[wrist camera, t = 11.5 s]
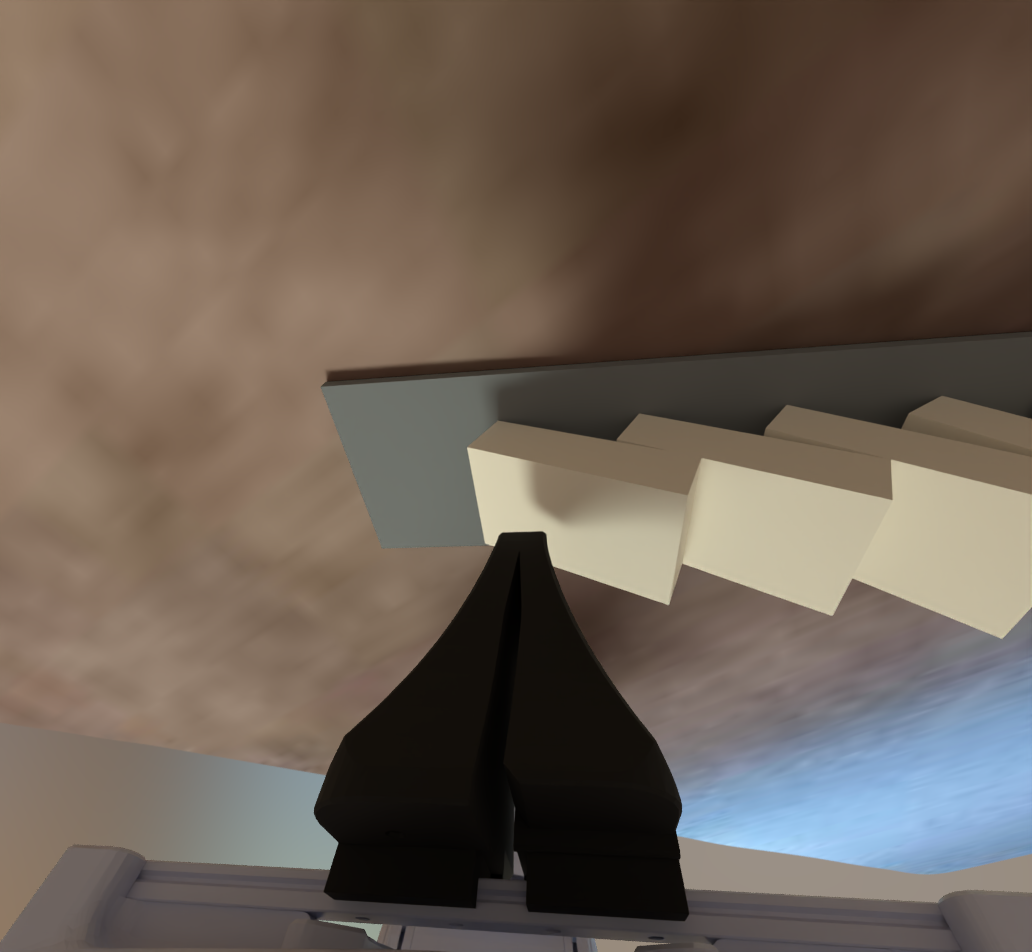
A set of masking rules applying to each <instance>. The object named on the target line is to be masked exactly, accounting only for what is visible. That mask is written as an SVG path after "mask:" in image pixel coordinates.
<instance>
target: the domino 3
mask: <svg viewBox="0 0 1032 952" xmlns="http://www.w3.org/2000/svg"><path fill="white" fill-rule="evenodd" d="M764 436H766V437H771V438H777V439H782V440H788V441H793V442H799V443H804V444H809V445H815V446H820V447H826V448H831V449H837V450H842V451H848V452H853V453H859V454H864V455H870V456H875V457H881V458H886V459H891V472H892V493H893V501H892V503H891V505H890V507H889V509H888V510H887V512H886V514H885V516H884V518H883V520H882V522H881V524H880V526H879V528H878V530H877V532H876V533H875V535H874V537H873V539H872V541H871V543H870V545H869V547H868V549H867V551H866V553H865V555H864V556H863V558H862V560H861V562H860V564H859V566H858V568H857V570H856V572H855V574H854V576H853V579H856V580H858V581H861V582H863V583H866V584H868V585H870V586H873V587H875V588H878V589H880V590H883V591H885V592H888V593H890V594H893V595H895V596H898V597H900V598H903V599H905V600H908V601H910V602H912V603H915V604H917V605H920V606H922V607H925V608H927V609H930V610H932V611H935V612H937V613H940V614H942V615H945V616H947V617H950V618H952V619H954V620H957V621H959V622H962V623H964V624H967V625H969V626H972V627H974V628H977V629H979V630H982V631H984V632H987V633H989V634H992V635H994V636H996V637H999V638H1001V639H1003V637H1004V636H1005V635H1006V634H1007V633H1008V632H1009V631H1010V630H1011V629H1012V628H1013V627H1014V626H1015V625H1016V623H1017V622H1018V621H1019V620H1020V619H1021V618H1022V617H1023V616H1024V615H1025V614H1026V613H1027V612H1028V611H1029V609H1030V608H1031V607H1032V457H1030V456H1025V455H1021V454H1016V453H1011V452H1007V451H1002V450H997V449H992V448H988V447H983V446H978V445H974V444H969V443H964V442H960V441H955V440H950V439H945V438H941V437H936V436H931V435H927V434H922V433H917V432H913V431H908V430H903V429H899V428H894V427H889V426H884V425H880V424H875V423H870V422H866V421H861V420H856V419H852V418H847V417H842V416H838V415H833V414H828V413H823V412H819V411H814V410H809V409H805V408H800V407H795V406H791V405H786V406H785V407H784V408H783V410H782V411H781V412H780V413H779V414H778V415H777V416H776V417H775V418H774V419H773V421H772V422H771V423H770V424H769V425H768V426H767V427H766V429H765V432H764Z"/></svg>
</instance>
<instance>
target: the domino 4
mask: <svg viewBox="0 0 1032 952" xmlns="http://www.w3.org/2000/svg"><path fill="white" fill-rule="evenodd" d="M901 429H903V430H908V431H913V432H917V433H922V434H927V435H931V436H936V437H941V438H945V439H950V440H955V441H960V442H964V443H969V444H974V445H978V446H983V447H988V448H992V449H997V450H1002V451H1007V452H1011V453H1016V454H1021V455H1025V456H1030V457H1032V419H1030V418H1027V417H1023V416H1019V415H1015V414H1011V413H1007V412H1003V411H1000V410H996V409H992V408H988V407H984V406H980V405H976V404H972V403H969V402H965V401H961V400H957V399H953V398H949V397H945V396H940V397H939V398H937V399H935V400H933V401H931V402H929V403H927V404H925V405H923V406H921V407H920V408H918V409H916V410H914V411H912V412H910V413H909V414H908V416H907V418H906V420H905V422H904V424H903V426H902V428H901Z"/></svg>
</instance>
